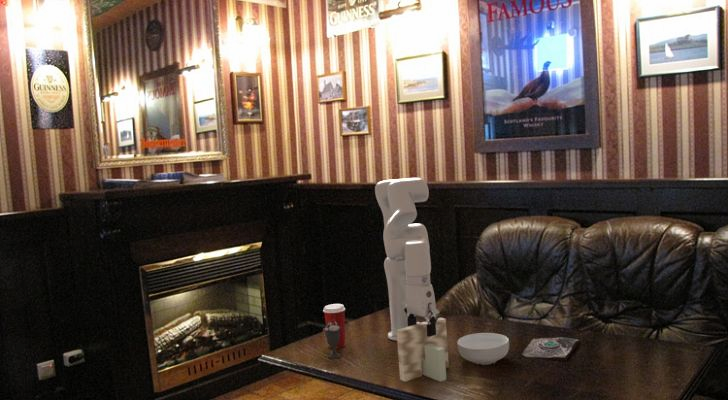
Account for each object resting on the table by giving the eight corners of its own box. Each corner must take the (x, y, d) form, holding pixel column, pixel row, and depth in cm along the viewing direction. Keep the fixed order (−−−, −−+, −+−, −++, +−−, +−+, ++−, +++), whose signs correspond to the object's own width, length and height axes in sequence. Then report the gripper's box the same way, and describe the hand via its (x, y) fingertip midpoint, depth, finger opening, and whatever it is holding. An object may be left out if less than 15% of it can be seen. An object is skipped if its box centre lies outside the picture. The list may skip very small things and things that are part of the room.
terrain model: (536, 340, 236) (536, 331, 235) (579, 344, 228) (579, 335, 228) (519, 358, 218) (518, 348, 218) (565, 363, 211) (564, 353, 210)
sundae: (341, 359, 229) (338, 317, 228) (323, 359, 230) (319, 317, 229) (346, 353, 235) (342, 312, 234) (328, 353, 237) (324, 312, 235)
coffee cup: (351, 342, 248) (348, 303, 246) (343, 349, 240) (340, 309, 238) (330, 341, 250) (327, 303, 249) (322, 348, 243) (319, 309, 241)
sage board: (410, 365, 218) (408, 336, 217) (446, 379, 203) (444, 348, 202) (405, 367, 216) (402, 337, 215) (440, 381, 201) (438, 350, 200)
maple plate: (444, 365, 215) (440, 317, 214) (448, 366, 213) (445, 318, 212) (400, 379, 206) (396, 329, 204) (404, 381, 204) (401, 331, 202)
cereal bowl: (478, 349, 229) (477, 329, 228) (520, 358, 217) (518, 337, 216) (448, 363, 217) (446, 342, 216) (490, 373, 205) (489, 351, 204)
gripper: (445, 281, 202) (448, 335, 203) (410, 273, 216) (414, 324, 218) (426, 286, 197) (430, 341, 199) (392, 277, 212) (396, 329, 214)
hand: (421, 332), depth 209 cm, fingers open, 9 cm apart
